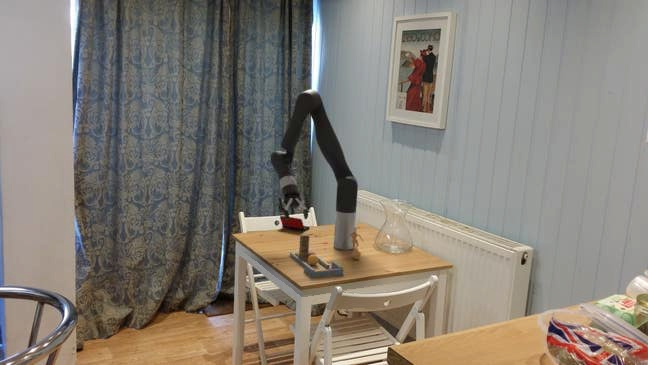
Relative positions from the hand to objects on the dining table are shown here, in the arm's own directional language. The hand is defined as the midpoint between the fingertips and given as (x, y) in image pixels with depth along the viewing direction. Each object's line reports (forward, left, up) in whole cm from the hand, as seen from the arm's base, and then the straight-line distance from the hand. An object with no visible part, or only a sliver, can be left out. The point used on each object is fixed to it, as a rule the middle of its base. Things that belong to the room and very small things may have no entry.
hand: (297, 218), depth 249 cm
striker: (0, +11, -15) cm, 18 cm away
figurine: (-21, +16, -15) cm, 30 cm away
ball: (0, +19, -13) cm, 23 cm away
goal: (0, +29, -15) cm, 33 cm away
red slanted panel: (-14, -36, -15) cm, 42 cm away
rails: (0, +15, -15) cm, 21 cm away
